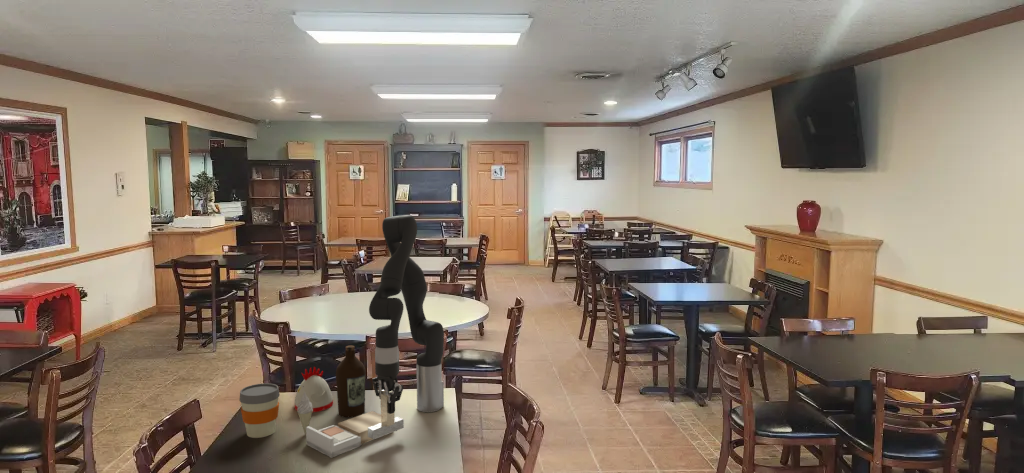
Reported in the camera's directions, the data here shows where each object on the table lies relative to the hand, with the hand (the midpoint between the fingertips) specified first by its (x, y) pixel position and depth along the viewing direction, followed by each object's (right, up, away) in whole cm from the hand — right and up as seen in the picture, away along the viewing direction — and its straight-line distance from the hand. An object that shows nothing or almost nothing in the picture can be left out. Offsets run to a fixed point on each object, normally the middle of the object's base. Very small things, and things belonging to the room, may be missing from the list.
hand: (387, 411), depth 196 cm
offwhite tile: (-15, -10, 0) cm, 18 cm away
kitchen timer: (-35, -8, +35) cm, 50 cm away
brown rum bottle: (-19, -9, +28) cm, 35 cm away
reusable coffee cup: (-45, -10, +11) cm, 48 cm away
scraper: (-1, -7, +1) cm, 7 cm away
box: (-18, -11, +1) cm, 21 cm away
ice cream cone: (-30, -11, +9) cm, 33 cm away
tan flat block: (-9, -10, +11) cm, 18 cm away
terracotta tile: (-19, -9, +4) cm, 21 cm away
